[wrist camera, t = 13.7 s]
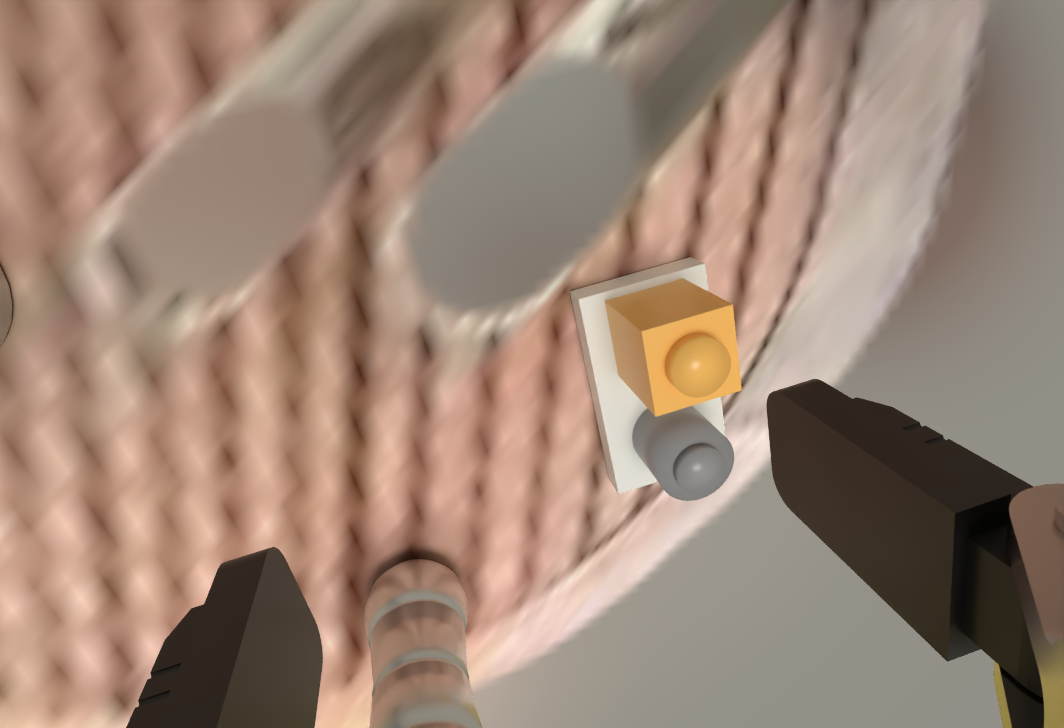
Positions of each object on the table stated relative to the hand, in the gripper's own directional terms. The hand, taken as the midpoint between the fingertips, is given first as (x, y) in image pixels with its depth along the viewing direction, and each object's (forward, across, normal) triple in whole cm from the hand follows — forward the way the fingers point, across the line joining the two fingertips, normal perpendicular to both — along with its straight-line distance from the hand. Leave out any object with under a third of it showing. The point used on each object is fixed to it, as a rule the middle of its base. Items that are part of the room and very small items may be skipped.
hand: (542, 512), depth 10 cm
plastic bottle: (+28, +8, +23) cm, 37 cm away
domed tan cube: (+26, -11, +8) cm, 30 cm away
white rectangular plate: (+28, -11, +12) cm, 33 cm away
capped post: (+26, -11, +16) cm, 33 cm away
